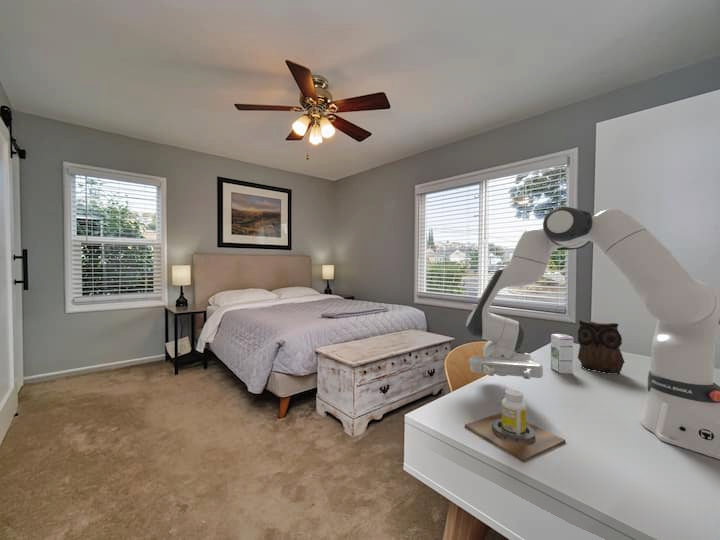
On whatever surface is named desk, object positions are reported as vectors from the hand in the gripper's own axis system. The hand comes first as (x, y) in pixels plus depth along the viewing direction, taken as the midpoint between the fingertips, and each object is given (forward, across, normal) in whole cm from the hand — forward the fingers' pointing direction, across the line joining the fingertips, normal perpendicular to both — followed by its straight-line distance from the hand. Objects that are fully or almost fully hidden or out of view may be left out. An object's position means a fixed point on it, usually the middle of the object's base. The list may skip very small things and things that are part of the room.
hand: (508, 374), depth 88 cm
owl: (-54, +44, +11) cm, 71 cm away
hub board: (+12, -1, +11) cm, 17 cm away
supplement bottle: (+12, -1, +10) cm, 16 cm away
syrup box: (-45, +27, +11) cm, 54 cm away
